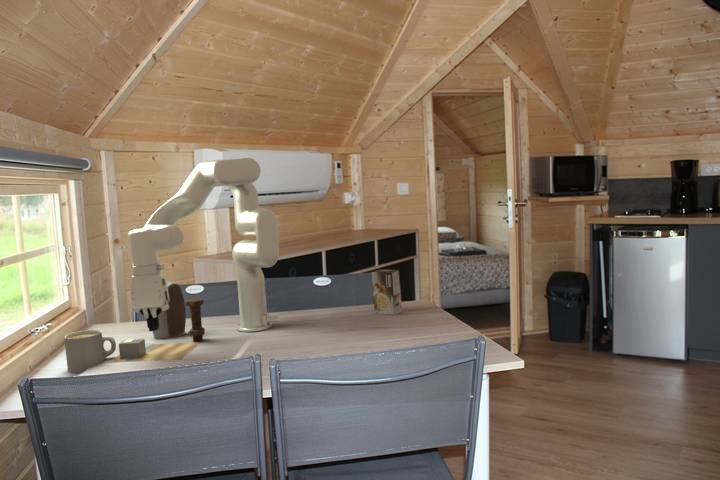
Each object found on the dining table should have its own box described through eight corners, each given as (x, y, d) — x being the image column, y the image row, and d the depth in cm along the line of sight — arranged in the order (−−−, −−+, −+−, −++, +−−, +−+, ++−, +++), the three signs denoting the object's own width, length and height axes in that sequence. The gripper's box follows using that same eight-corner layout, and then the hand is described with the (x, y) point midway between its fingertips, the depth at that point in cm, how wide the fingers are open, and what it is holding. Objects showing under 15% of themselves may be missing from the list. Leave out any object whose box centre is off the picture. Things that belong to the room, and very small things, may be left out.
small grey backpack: (165, 344, 193) (159, 284, 191) (143, 343, 196) (138, 284, 194) (191, 332, 208) (186, 276, 206) (170, 332, 210) (165, 277, 208)
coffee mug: (65, 374, 167) (61, 340, 166) (70, 364, 176) (67, 332, 175) (115, 367, 170) (112, 334, 170) (118, 358, 180) (115, 326, 179)
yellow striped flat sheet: (201, 346, 188) (200, 342, 188) (182, 364, 170) (181, 359, 170) (133, 349, 189) (133, 345, 189) (107, 367, 171) (107, 362, 171)
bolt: (192, 343, 193) (188, 298, 191) (207, 342, 193) (204, 297, 192) (188, 348, 187) (184, 302, 185) (204, 347, 187) (200, 300, 186)
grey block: (145, 353, 178) (144, 338, 178) (140, 357, 174) (138, 342, 173) (126, 354, 179) (125, 339, 178) (120, 358, 174) (118, 343, 174)
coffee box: (402, 311, 222) (400, 269, 220) (394, 315, 216) (392, 272, 215) (381, 310, 226) (379, 268, 225) (373, 313, 221) (371, 271, 219)
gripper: (175, 266, 177) (182, 324, 180) (127, 269, 178) (134, 328, 180) (166, 270, 170) (173, 331, 172) (116, 274, 171) (124, 335, 173)
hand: (153, 329), depth 176 cm, fingers closed
